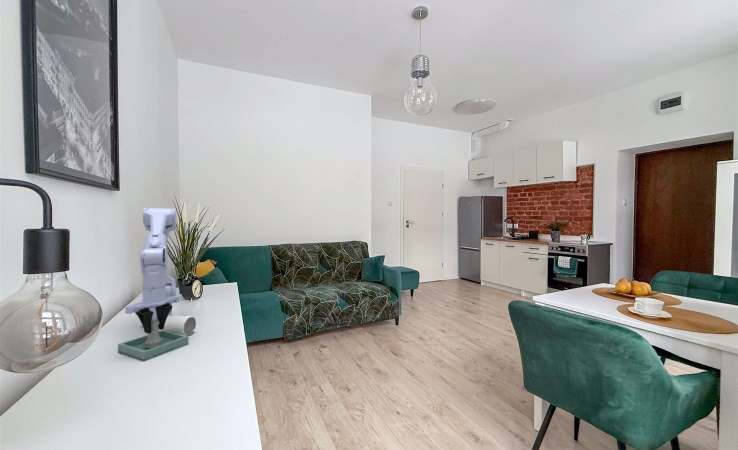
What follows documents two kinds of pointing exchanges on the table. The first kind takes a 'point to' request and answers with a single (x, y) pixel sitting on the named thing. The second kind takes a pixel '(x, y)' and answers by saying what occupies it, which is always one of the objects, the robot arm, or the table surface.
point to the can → (180, 324)
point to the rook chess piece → (153, 336)
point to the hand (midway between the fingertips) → (154, 330)
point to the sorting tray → (141, 353)
